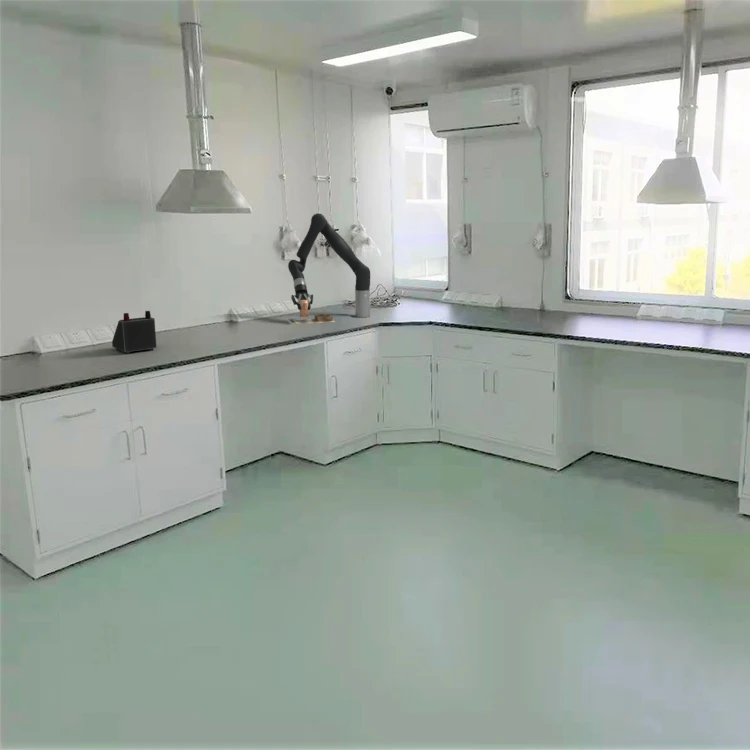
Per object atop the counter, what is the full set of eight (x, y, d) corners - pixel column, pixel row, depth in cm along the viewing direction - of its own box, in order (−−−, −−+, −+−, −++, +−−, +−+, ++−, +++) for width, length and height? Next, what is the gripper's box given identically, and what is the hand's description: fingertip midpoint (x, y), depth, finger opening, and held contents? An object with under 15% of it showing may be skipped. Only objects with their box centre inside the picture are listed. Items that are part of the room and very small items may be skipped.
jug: (307, 315, 428) (307, 299, 425) (309, 317, 421) (309, 301, 418) (299, 315, 426) (298, 299, 424) (301, 317, 419) (301, 301, 417)
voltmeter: (143, 345, 359) (140, 307, 354) (156, 350, 347) (154, 311, 342) (112, 349, 349) (109, 310, 344) (125, 355, 337) (121, 314, 332)
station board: (330, 319, 437) (330, 313, 436) (335, 323, 424) (335, 316, 423) (292, 321, 430) (292, 315, 429) (297, 325, 417) (296, 318, 416)
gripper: (289, 283, 424) (293, 306, 416) (312, 283, 429) (317, 305, 421) (288, 291, 431) (292, 313, 423) (310, 290, 435) (315, 312, 427)
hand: (304, 309), depth 422 cm, fingers closed on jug, 5 cm apart
